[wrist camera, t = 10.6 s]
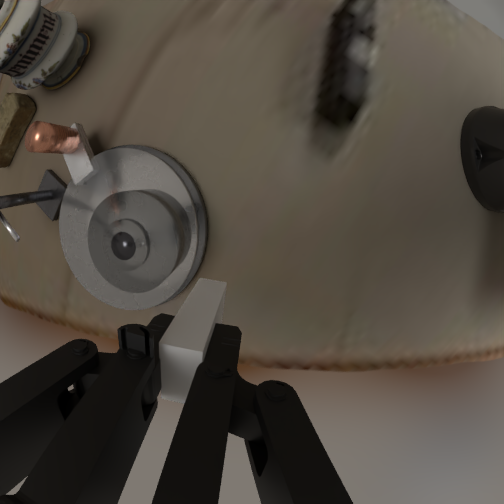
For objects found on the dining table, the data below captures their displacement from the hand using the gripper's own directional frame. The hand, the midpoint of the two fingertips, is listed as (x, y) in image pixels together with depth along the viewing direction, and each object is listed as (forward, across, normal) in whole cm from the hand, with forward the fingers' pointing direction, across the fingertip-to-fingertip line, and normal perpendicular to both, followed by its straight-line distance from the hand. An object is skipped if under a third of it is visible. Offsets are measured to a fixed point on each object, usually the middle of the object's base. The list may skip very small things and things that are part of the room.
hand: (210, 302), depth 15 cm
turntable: (+13, +14, -2) cm, 20 cm away
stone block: (+16, +38, -13) cm, 43 cm away
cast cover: (+12, +9, 0) cm, 15 cm away
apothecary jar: (+16, +29, -23) cm, 41 cm away
